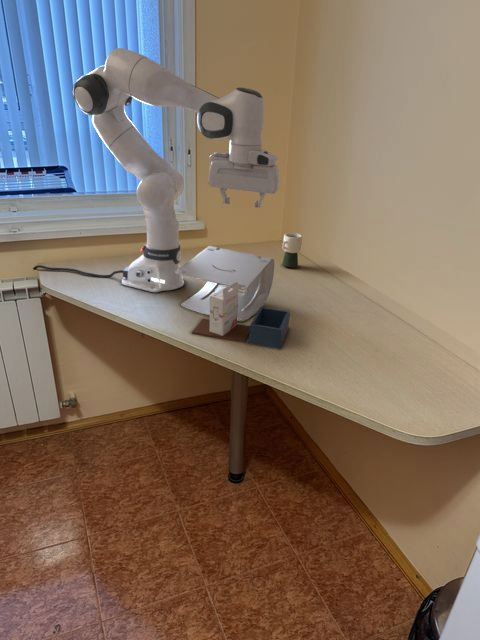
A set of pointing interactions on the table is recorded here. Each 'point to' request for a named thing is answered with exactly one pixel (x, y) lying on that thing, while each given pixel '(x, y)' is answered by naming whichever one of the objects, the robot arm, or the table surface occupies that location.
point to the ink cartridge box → (224, 309)
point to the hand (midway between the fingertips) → (242, 205)
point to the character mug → (291, 249)
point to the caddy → (269, 327)
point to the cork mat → (235, 334)
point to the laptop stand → (230, 279)
